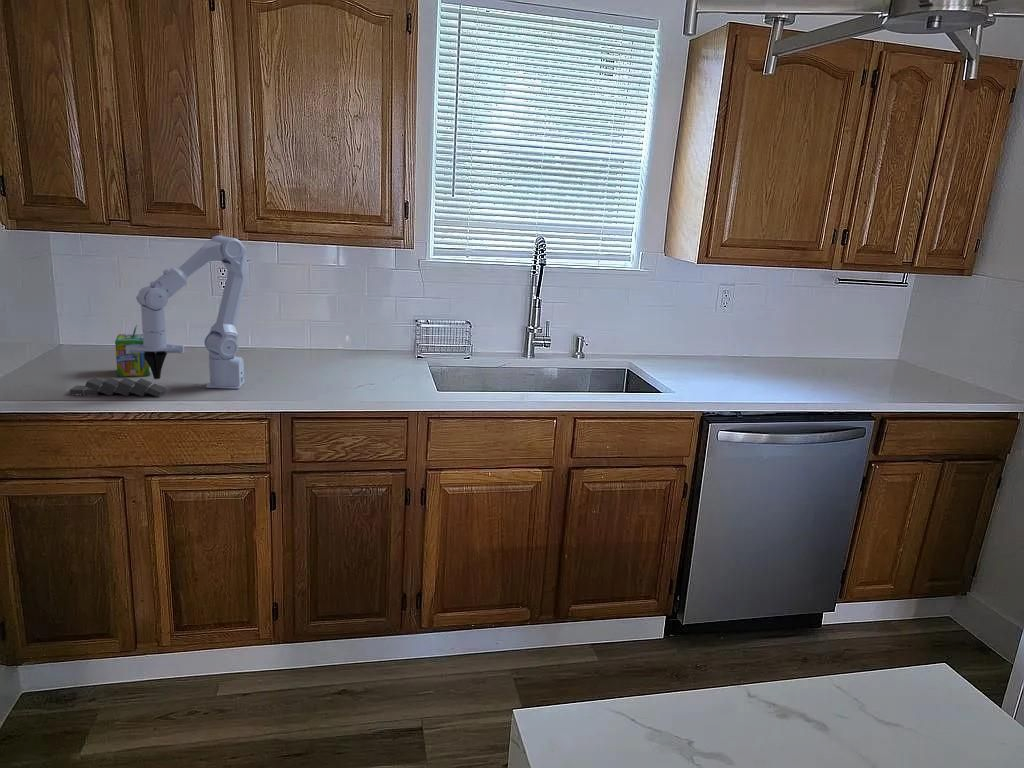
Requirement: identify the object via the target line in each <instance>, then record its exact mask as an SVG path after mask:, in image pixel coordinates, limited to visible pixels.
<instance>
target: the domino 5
mask: <svg viewBox="0 0 1024 768" xmlns="http://www.w3.org/2000/svg"><path fill="white" fill-rule="evenodd" d="M134 388H136V389H139V390H141V391H144V392H146V393H147V394H149V395H152V396H154V397H156V398H160V397H161V396H162V395H163V394H165V391H166V389H167V388H166V387H164V386H162V385H159V384H157V383H155V382H151V381H149V380H146V379H144V378H140V379H138V380H137V381H135V385H134Z"/></svg>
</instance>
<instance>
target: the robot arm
mask: <svg viewBox="0 0 1024 768" xmlns="http://www.w3.org/2000/svg"><path fill="white" fill-rule="evenodd" d="M246 253H247V248H246V247H245V245H244V244H243V243H242V242H241V240H239V239H238V238H235V237H228V236H224V235H215V236H213V237H212V238H210V240H207V241H205V242H204V244H203V245H202V246H201V247H200V248H199V249H198V250H196V252H195V253H194V254H192V255H191V256H190V257H189V258H188V259H187V260H186V261H184V262H183V264H181V265H180V266H179V267H178V268H175V267H173V268H169V269H167V268H166V269H164V270H163V271H162V273H163V274H162V275H161V276H159V277H158V278H156V280H154V281H150V282H149V285H150V286H144V287H142V288H141V289H139V290H138V294H137V296H136V300H137V303H138V304H139V305H140V311H141V313H140V315H141V327H142V329H141V330H142V334H143V344H144V345H127V346H126V347H125V348H126V354H130V353H144V358H145V360H146V361H147V363H148V365H149V366H150V368H151V373H152V376H153V379H154V380H160V379H161V375H162V374H161V373H162V370H163V369H162V368H163V365H164V362H165V359H166V357H167V354H182V355H183V354H184V353H185V345H176V344H167V333H166V331H167V330H166V317H165V316H166V315H165V307H166V306H167V305H168V300H169V299H170V298H171V297H173V296H174V295H175V294H176V293H177V292H179V291H180V290H181V289H182V288H183V287H184V288H185V286H186V285H187V283H188V282H187V281H188V278H189V277H190V276H192V275H193V274H194V273H195V272H197V271H198V270H200V269H201V268H203V266H205V265H207V264H208V263H209V262H213V261H214V262H215V261H216V262H217V261H221V262H222V264H223V265H224V267H225V268H226V270H227V275H226V280H225V284H224V288H223V290H222V296H221V301H220V304H219V308H218V309H219V310H218V313H217V317H216V322H215V323H213V325H212V326H211V327H210V331H209V333H208V334H207V335H206V336H205V338H204V347H205V348H206V350H207V351H208V366H209V367H208V368H209V383H207V384H206V386H205V388H207V389H233V390H234V389H235V390H237V389H240V388H241V387H242V386H243V384H245V382H246V381H245V363H244V358H243V357H241V356H236V354H237V353H238V351H239V342H238V337H239V333H238V330H237V328H236V326H237V321H238V316H239V312H240V308H241V305H242V304H241V303H242V300H243V295H244V291H245V287H246V284H247V280H248V279H247V278H248V274H249V272H250V270H249V264H248V260H247V255H246Z"/></svg>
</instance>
